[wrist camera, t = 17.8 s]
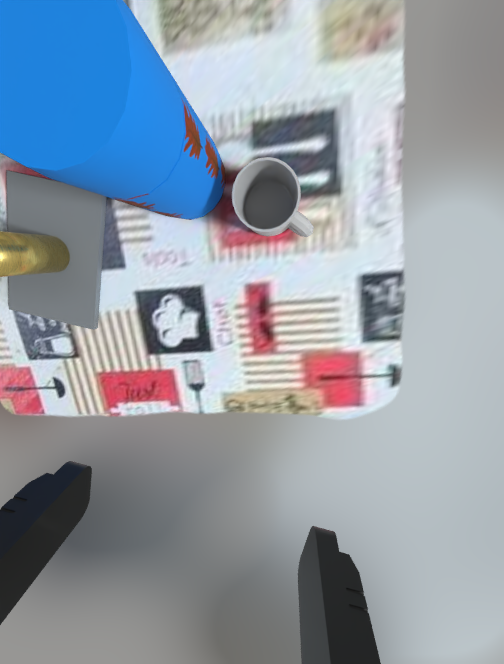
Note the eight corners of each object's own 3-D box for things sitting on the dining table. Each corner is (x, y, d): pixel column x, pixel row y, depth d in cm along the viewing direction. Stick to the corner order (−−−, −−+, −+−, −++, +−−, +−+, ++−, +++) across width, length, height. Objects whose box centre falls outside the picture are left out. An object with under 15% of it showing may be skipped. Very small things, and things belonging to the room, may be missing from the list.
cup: (262, 167, 38) (256, 141, 29) (325, 212, 39) (337, 200, 30) (232, 216, 40) (218, 206, 31) (292, 258, 41) (295, 260, 32)
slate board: (12, 172, 41) (6, 170, 41) (106, 192, 41) (102, 191, 40) (14, 307, 47) (8, 309, 46) (97, 327, 46) (93, 329, 45)
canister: (36, 231, 42) (-56, 221, 31) (71, 239, 42) (-8, 233, 31) (35, 268, 44) (-54, 273, 32) (69, 276, 44) (-8, 284, 32)
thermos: (146, 215, 41) (-46, 161, 17) (149, 128, 38) (-77, -85, 14) (222, 225, 40) (132, 184, 16) (231, 137, 38) (139, -69, 14)
